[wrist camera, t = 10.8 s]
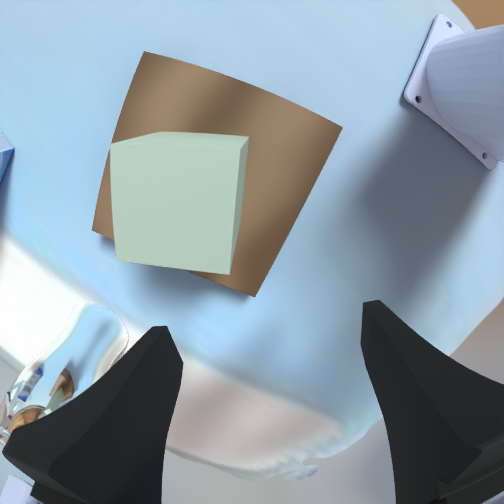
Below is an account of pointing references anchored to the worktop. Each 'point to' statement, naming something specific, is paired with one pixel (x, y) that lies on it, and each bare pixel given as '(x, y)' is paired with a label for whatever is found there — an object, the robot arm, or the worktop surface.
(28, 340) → the worktop surface
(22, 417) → the beer glass
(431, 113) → the robot arm
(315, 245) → the worktop surface
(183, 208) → the sage block
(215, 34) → the worktop surface
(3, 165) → the medicine box
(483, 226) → the worktop surface
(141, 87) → the walnut base
